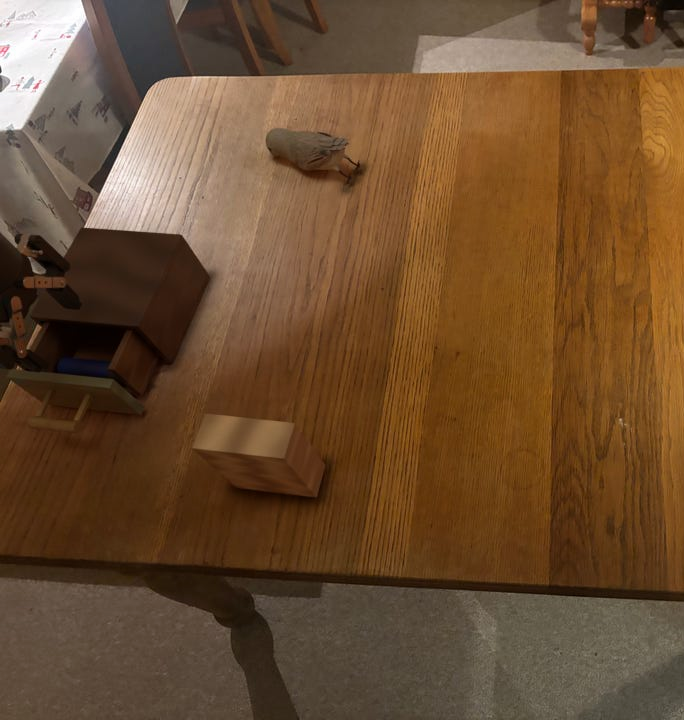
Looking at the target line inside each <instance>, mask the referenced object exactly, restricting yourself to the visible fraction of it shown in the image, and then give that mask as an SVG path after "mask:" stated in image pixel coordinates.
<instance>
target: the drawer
mask: <svg viewBox="0 0 684 720" xmlns="http://www.w3.org/2000/svg"><path fill="white" fill-rule="evenodd" d="M29 349H30V350H31V351H32V352H34V353H35V354H36V355H37V356H39V357H40V358H41V359H42V360H44V361H45V362H46V363H47V364H49V367H48V369H47V371H40V373H39V372H29V371H24V370H23V369H18V368H13V369H11V370H8V371H9V372H8V373H7V374H6V379H8V380H9V381H10V382H12V383H13V384H15V385H16V386H18V388H19V387H20V388H21V389H22V390H24V391H25V392H26V393H28V394H29V395H30V396H32V397H33V398H35V399H36V400H38V401H39V402H40V406H39V407H38V410H37V411H36V413H35V416H34V415H33V416H30V417H29V418H28V420H27V422H26V425H27V427H28V428H30V429H34V430H43V431H52V432H53V431H54V432H61V433H70V434H79V433H81V431H82V430H83V423H82V421H83V419H84V416H85V414H86V412H87V411H88V410H92V411H99V412H110V413H118V414H126V415H127V414H128V415H136V416H141V415H142V414H143V411H144V409H145V405H143V404H142V403H141V402H140V401H139V400H138V399H136V397H134V396H141V397H143V395H144V394H145V392H146V389H147V387H148V384H149V383H150V380H151V377H152V376H153V373H154V371H155V368H156V367H157V364H158V360H159V358H160V355H159V354H158V353H157V352H156V351H155V350H154V349H153V348H152V347H151V346H150V345H149V343H148V342H147V341H146V340H145V339H144V338H143V337H142V336H141V335H140V334H139V333H138V332H137V331H136V329H127V328H116V327H105V326H94V325H83V324H72V323H61V322H50V321H45V322H44V324H43V326H42V327H41V326H40V329H39V330H38V333H37V334H36V336H35V338H34V339H33V341H32V343H31V345H30V347H29ZM65 357H68V358H78V359H88V360H98V361H109V362H111V363H110V365H109V367H108V370H109V371H110V372H112V373H113V374H114V375H115V376H116V377H117V378H118V379H119V380H120V381H122V382H123V383H124V384H121V383H117V382H116V381H115V380H114V379H106V378H97V377H87V376H77V375H67V374H58V372H57V366H58V363H59V361H60V360H61V359H62V358H65ZM49 406H55V407H56V406H57V407H64V408H72V409H77V412H76V413H75V415H74V418H73V420H69V419H60V418H52V417H44V416H45V415H46V412H47V410H48V408H49Z"/></svg>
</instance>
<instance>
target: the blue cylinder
mask: <svg viewBox="0 0 684 720" xmlns="http://www.w3.org/2000/svg"><path fill="white" fill-rule="evenodd" d="M110 363H111V362H109V361H98V360H88V359H78V358H68V357H65V358H62V359H61V360H60V361H59V363H58V366H57V372H58V374H67V375H77V376H87V377H97V378H106V379H114V380H115V381H116V382H117V383H121V384H124V383H123V382H122V381H120V380H119V379H118V378H117V377H116V376H115V375H114V374H113V373H112V372H110V371H109V370H108V367H109V365H110Z"/></svg>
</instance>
